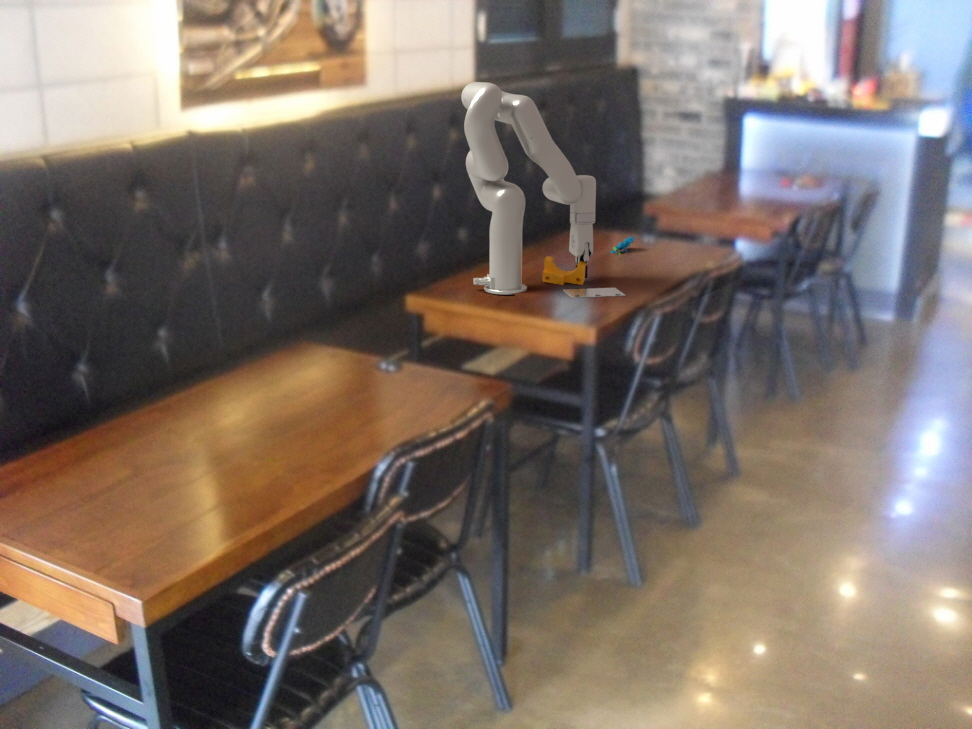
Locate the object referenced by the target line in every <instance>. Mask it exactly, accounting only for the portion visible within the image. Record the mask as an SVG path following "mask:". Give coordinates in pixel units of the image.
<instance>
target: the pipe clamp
mask: <svg viewBox="0 0 972 729" xmlns="http://www.w3.org/2000/svg"><path fill="white" fill-rule="evenodd" d="M543 265H544V267H543V271H542V278H541V279H542V280H541V281H542V282H543V283H549V284H554V285H561V286H563V285H565V283H569V284H573V285H579V286H583V285H584V283H585V280H586V278H585V266H586V262H581V261H579V263H578V265H577V268H576V267H575V268H574V269H573V270H564V269H561V268H560V267H558V266H557V265H556V262H555V260H554V257H553V256H549V255H548V256H547V255H546V256H545V258H544V263H543Z"/></svg>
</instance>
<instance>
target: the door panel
mask: <svg viewBox="0 0 972 729" xmlns="http://www.w3.org/2000/svg"><path fill="white" fill-rule="evenodd" d="M562 291H563V293H565V294H566V295H567V296H569V297H570V298H572V299H575V298H596V297H597V298H599V297H600V298H601V297H623V296H625V297H626V294H624V293H623V291H620V290H619V289H618V288H616V287H595V288H592V287H591V288H574V289H573V288H570V289H566V288H565V289H562Z"/></svg>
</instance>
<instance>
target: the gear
mask: <svg viewBox="0 0 972 729" xmlns="http://www.w3.org/2000/svg"><path fill="white" fill-rule="evenodd" d="M634 240H635V236H632V235H630V236H629V237H628V238H627V237H626V238H625V239H623V241H620V242H619V243H618V245H616V246H615V245H614V246H613V247H612V249H613V250H611V251H609V253H610V254H613V253H615V254H616V255H620V256H621V254H622V253H628V249H627V248H630V246H631V244H633V243H634Z"/></svg>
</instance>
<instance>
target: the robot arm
mask: <svg viewBox="0 0 972 729" xmlns="http://www.w3.org/2000/svg"><path fill="white" fill-rule="evenodd" d="M460 99H461V103H462V105H463V107H464V108H465V109H466V110H467V111H466V114H465V116H464V117H465V118H464V122H463V123H464V125H463V129H464V135H465V138H466V141H467V144H468V147H469V151H468V153H467V155H466V158H465V167H466V172H467V175H468V177H469V179H470V182H471V184H472V186H473V190H474V192H475V194H476V196H477V200H479V202H480V204H481V206H483V208H485V210H487V211H490V212H492V213H491V219H490V224H489V273H487V274H486V276H484V277H473V285H479V286H483V289H484V291H485V292H486V293H488V294H493V295H507V296H508V295H514V294H519V293H522V292H523V293H524V292H526V291H527V290H528V286H527V285H525V284H524V283H522V281H523V278H522V277H523V225H524V215H525V210H526V197H525V194H524V191H523V190H522V189H521V188H520V186H518V185H517V184H515V183H512V182H509V181H505V179H504V178H505V177H506V176H507V174H508V171H509V162H508V159H507V156H506V154H505V151H504V149H503V147H502V144H501V142H500V140H499V137H498V134H497V130H496V126H495V121H496V122H497V121H498V122H501V123H504V124H507V125H511V127H512V129H513V131H514V132H515V134H516V136H517V138H518V140H519V142H520V144H521V146H522V148H523V151H524V153H525V154H526V155H527V157H528V158H529V159H530V160H531V161H532V162H534V163H535V164H536V165H538V166H539V167H540V168H541V169H542V170H543V171H544V172H545V174H546V175H547V178H546V179H545V180H544V181H543V184H542V193H543V195H544V196H545V198H547V199H548V200H550V201H553V202H555V203H559V204H564V205H568V206H569V224H570V229H569V244H568V245H569V246H568V251H569V252H570V254H571V255H573V256H574V257H575V269H576V268H577V265H578V263H579V261H581V262H586V266H585V279H588V266H589V261H590V257H592V256H593V255H594V225H593V224H595V223H596V200H597V198H596V197H597V182H596V181H597V180H596V178H595V177H594V176H592V175H588V174H586V175H585V174H582V175H581V174H579V175H577V174H576V172H575V170H574V168H573V166H572V165H571V163H570V161H569V160H568V159H567V157H566V155H565V154H564V153H563V152H562V150H561V149H560V148H559V147H558V145H557V144H556V142H554V140H553V138H552V136H551V134H550V132H549V130H548V129H547V126H546V124H545V121H544V120H543V117H542V116H541V113H540V111H539V110H538V107H537V105H536V104H535V101H534V100H533V99H532V98H531V97H529V96H528V95H523V94H516V93H514V94H513V93H510V92H506V91H503V90H501V88H500V87H499V86H497V84H495V83H492V82H486V81H485V82H483V81H473V82H469V83H468V84H467V85H466V86H464V88H463V89H462V92H461V98H460Z"/></svg>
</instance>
